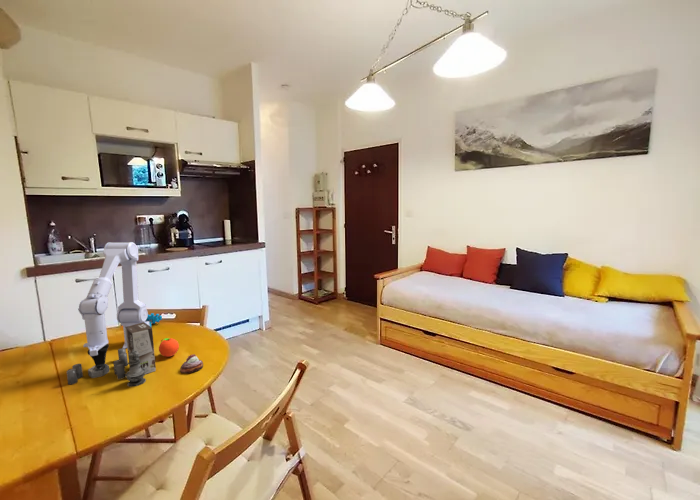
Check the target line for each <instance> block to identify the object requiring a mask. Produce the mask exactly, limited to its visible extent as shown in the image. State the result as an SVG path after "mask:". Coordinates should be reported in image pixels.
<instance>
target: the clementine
mask: <svg viewBox="0 0 700 500" xmlns="http://www.w3.org/2000/svg"><path fill="white" fill-rule="evenodd" d="M179 348H180V345H179V341H178V340H176V339H174V338H167V337H166V338H163V339H161V341H160V343H159V345H158V352H159V353H160V355H161V356H162V357H165V358H166V357H167V358H168V357H173V356H174V355H176V354H177V352H178V351H179Z"/></svg>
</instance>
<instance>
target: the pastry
mask: <svg viewBox="0 0 700 500" xmlns="http://www.w3.org/2000/svg"><path fill="white" fill-rule="evenodd" d="M185 360H186V361H184V362H183V363H182V364H181V366H180V369H179V371H180V373H181V374H192V373H196V372H198V371H200V370H202V369H203V367H204V362H203V361H202V360H200V359H199V358H198V356H197V355H196V354H195V353H194V354H191V355H188V356H187V358H186V359H185Z"/></svg>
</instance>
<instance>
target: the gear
mask: <svg viewBox="0 0 700 500" xmlns="http://www.w3.org/2000/svg"><path fill="white" fill-rule="evenodd" d="M162 320H163V316H162V315H161V314H160V313H156V314H155V312H151V313H150V314H149V313H148V317H147V319H146V321H149V324H150V327H152V325H155V324H156V323H160V321H162ZM146 321H145V322H146Z"/></svg>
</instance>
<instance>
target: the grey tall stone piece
mask: <svg viewBox="0 0 700 500" xmlns="http://www.w3.org/2000/svg"><path fill="white" fill-rule="evenodd" d="M140 361H141V360H140V359H139V353H138V351H134V349H132V352H130V353H129V357H128V365H129V371H127V372H125V376H126V377H125V378H126V379H127V381H128V382H127V385H126V386H127V387H129V388H135V387H138V386H141V385H143V384H145V383H146V381H147V379H146V378H145V375H146V374H145V372H146V369H144V368H141V367H140Z"/></svg>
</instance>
